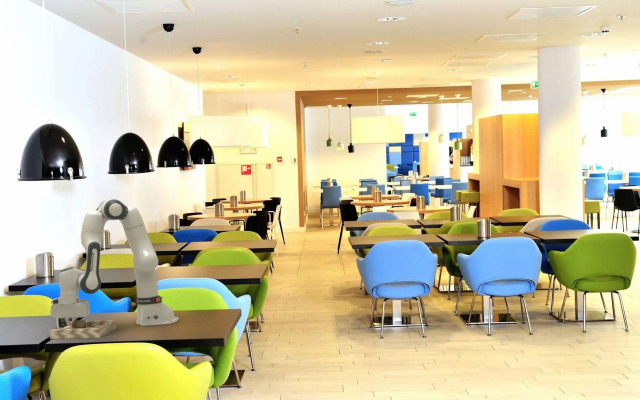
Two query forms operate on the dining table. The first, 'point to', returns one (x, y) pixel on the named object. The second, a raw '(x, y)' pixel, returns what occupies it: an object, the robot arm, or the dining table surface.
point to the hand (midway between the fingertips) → (71, 326)
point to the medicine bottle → (62, 322)
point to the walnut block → (79, 324)
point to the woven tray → (84, 330)
